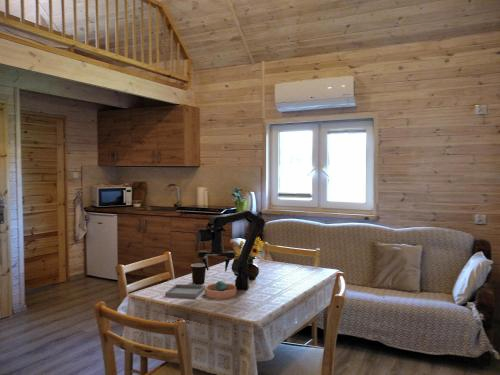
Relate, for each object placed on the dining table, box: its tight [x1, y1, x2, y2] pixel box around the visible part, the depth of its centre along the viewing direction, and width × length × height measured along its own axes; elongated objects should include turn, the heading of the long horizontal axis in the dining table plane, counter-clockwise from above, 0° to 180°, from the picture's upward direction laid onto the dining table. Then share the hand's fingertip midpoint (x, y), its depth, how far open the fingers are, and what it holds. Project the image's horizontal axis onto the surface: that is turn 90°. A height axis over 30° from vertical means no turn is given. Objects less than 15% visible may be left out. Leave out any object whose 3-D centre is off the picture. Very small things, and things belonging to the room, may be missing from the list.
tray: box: [164, 283, 206, 299], centre depth 219 cm, size 16×16×2 cm
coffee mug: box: [190, 262, 207, 285], centre depth 240 cm, size 12×9×10 cm
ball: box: [214, 280, 227, 291], centre depth 217 cm, size 6×6×6 cm
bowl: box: [204, 282, 238, 299], centre depth 217 cm, size 16×16×3 cm
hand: (216, 271), depth 219 cm, fingers open, 9 cm apart
